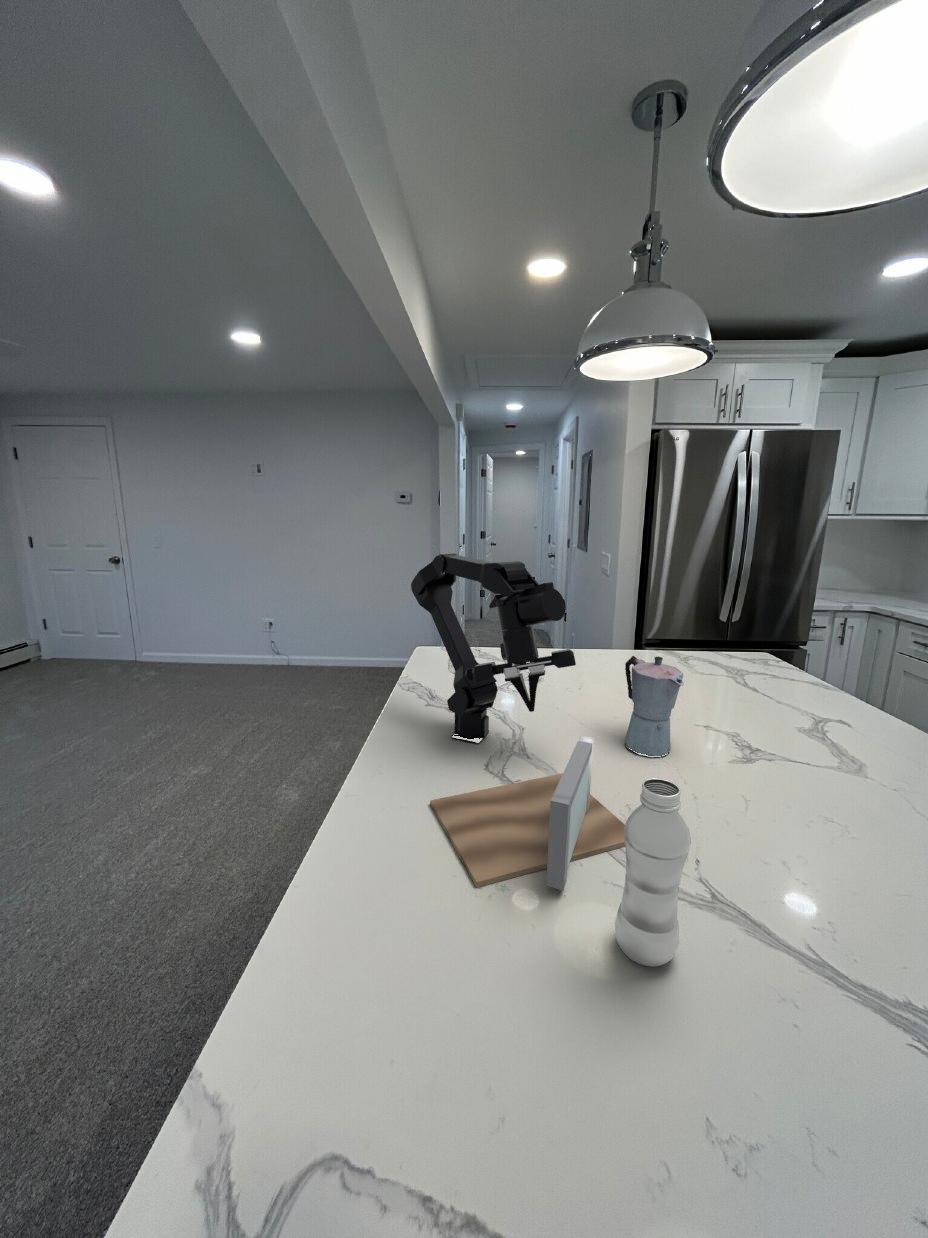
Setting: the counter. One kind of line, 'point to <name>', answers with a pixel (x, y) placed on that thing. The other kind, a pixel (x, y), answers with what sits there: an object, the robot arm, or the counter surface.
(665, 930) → the plastic bottle
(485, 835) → the walnut board
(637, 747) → the moka pot
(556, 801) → the light blue panel
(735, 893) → the counter surface
